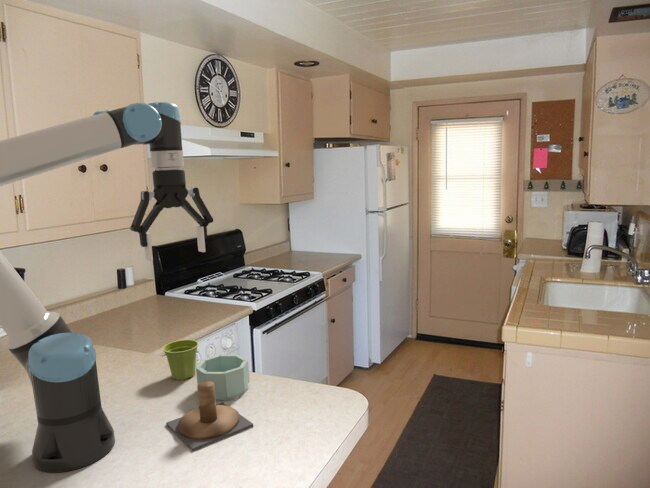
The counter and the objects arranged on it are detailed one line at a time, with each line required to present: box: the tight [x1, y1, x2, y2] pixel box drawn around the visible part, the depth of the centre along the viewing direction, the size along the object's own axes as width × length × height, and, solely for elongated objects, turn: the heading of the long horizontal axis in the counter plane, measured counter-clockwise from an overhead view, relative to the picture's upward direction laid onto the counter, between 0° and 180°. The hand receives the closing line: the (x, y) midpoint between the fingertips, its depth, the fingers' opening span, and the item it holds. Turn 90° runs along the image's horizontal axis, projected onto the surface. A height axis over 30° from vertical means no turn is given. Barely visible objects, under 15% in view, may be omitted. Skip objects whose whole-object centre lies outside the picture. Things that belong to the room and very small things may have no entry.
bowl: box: [195, 354, 250, 402], centre depth 129 cm, size 12×12×7 cm
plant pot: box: [162, 339, 200, 381], centre depth 139 cm, size 9×9×9 cm
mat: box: [165, 401, 254, 452], centre depth 112 cm, size 14×14×1 cm
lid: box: [178, 381, 240, 439], centre depth 111 cm, size 13×13×9 cm
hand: (176, 255), depth 126 cm, fingers open, 13 cm apart
